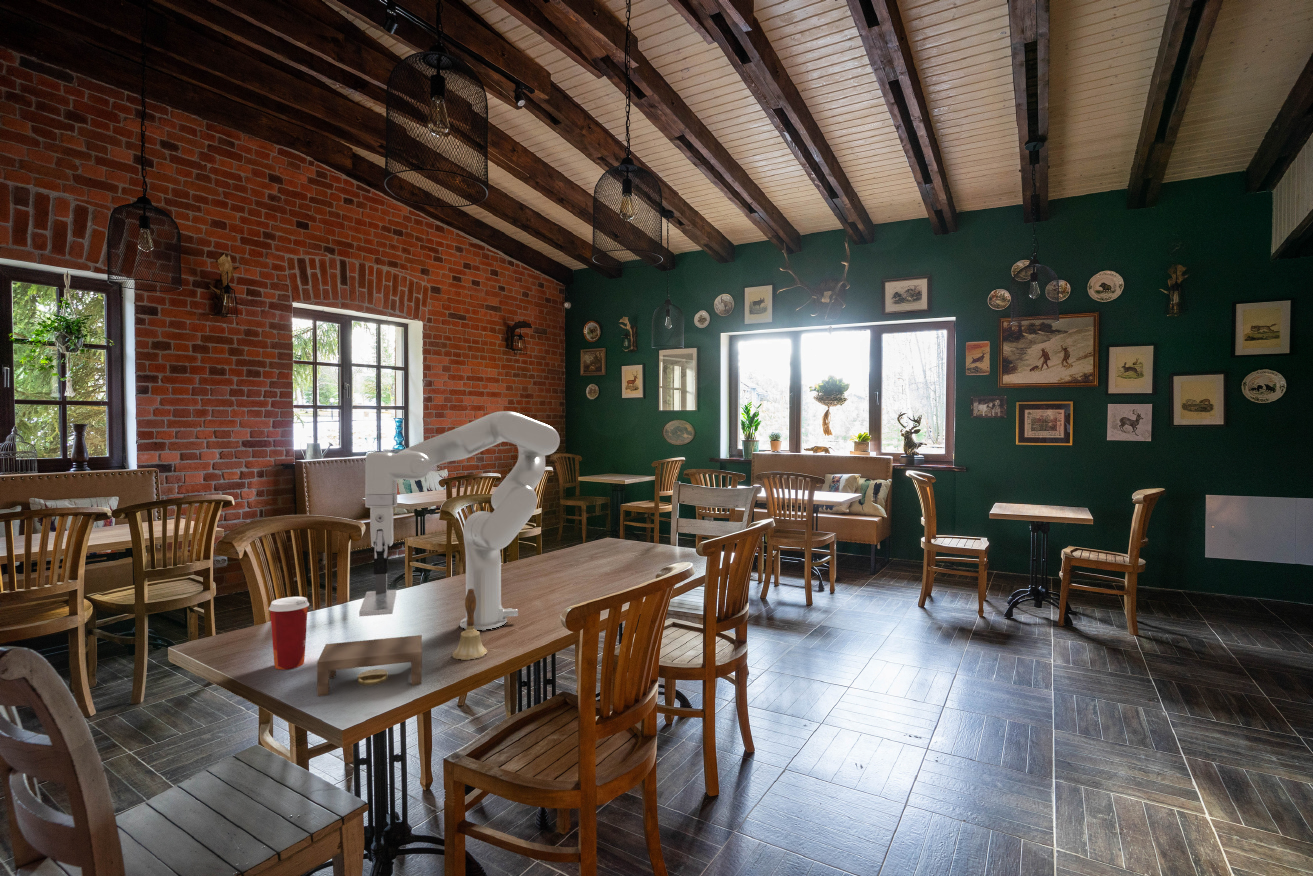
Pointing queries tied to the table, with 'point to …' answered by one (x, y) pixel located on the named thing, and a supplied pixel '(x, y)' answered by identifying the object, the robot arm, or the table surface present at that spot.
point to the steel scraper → (379, 598)
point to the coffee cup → (289, 631)
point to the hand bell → (469, 633)
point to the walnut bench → (368, 657)
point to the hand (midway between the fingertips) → (381, 572)
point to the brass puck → (372, 677)
